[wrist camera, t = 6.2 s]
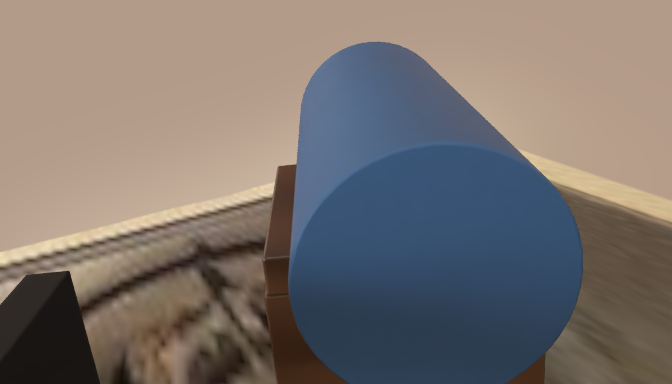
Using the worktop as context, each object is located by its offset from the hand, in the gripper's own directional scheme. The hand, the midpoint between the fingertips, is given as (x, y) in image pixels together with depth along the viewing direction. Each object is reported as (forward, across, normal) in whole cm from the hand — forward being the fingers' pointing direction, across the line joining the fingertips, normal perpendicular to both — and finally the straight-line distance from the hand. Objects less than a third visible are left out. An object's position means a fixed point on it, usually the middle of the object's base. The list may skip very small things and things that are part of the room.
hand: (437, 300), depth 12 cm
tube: (+7, 0, 0) cm, 7 cm away
